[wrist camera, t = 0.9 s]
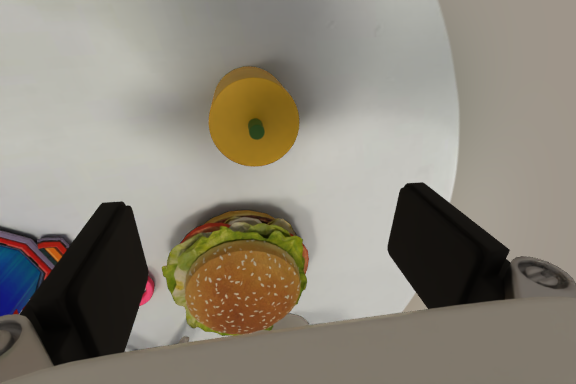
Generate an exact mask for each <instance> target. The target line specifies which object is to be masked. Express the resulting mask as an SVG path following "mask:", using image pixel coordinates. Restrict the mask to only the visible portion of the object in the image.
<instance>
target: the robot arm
mask: <svg viewBox="0 0 576 384" xmlns="http://www.w3.org/2000/svg"><path fill="white" fill-rule="evenodd" d="M388 252H389V255H390V256H391V258H392V259H393V261H394V262H395V263H396V265H397V266H398V268H399V269H400V270H401V272H402V273H403V275H404V276H405V277H406V279H407V280H408V282H409V283H410V284H411V286H412V287H413V289H414V290H415V291H416V293H417V294H418V296H419V297H420V298H421V299H422V301H423V302H424V304H425V305H426V307H427V308H428V309H426V310H417V311H410V312H402V313H395V314H387V315H380V316H372V317H365V318H358V319H350V320H343V321H336V322H328V323H321V324H314V325H307V326H300V327H292V328H285V329H278V330H271V331H264V332H257V333H250V334H243V335H236V336H229V337H222V338H215V339H208V340H201V341H194V342H188V343H181V344H174V345H167V346H161V347H154V348H148V349H141V350H135V351H129V352H124V351H125V348H126V345H127V342H128V339H129V336H130V333H131V330H132V327H133V324H134V321H135V318H136V315H137V312H138V309H139V305H140V302H141V299H142V296H143V293H144V290H145V287H146V284H147V281H148V267H147V264H146V260H145V256H144V252H143V248H142V245H141V241H140V237H139V233H138V230H137V226H136V222H135V218H134V214H133V211H132V208H131V206H126V205H125V204H124V202H107V203H102V204H101V205H100V206H99V207H98V209H97V210H96V211H95V213H94V214H93V215H92V217H91V218H90V219H89V221H88V222H87V223H86V225H85V226H84V228H83V229H82V230H81V232H80V233H79V234H78V236H77V237H76V238H75V240H74V241H73V242H72V244H71V245H70V246H69V248H68V249H67V250H66V252H65V253H64V254H63V256H62V257H61V259H60V260H59V261H58V263H57V264H56V265H55V267H54V268H53V269H52V271H51V272H50V273H49V275H48V276H47V277H46V279H45V280H44V281H43V283H42V284H41V285H40V287H39V288H38V290H37V291H36V292H35V294H34V295H33V296H32V298H31V299H30V300H29V302H28V304H27V305H26V306H25V308H24V309H23V310H22V312H21V313H20V314H19V315H18V314H13V315H4V316H0V384H576V283H575V281H574V280H573V278H572V277H571V276H570V275H569V274H567V273H566V272H565V271H563V270H562V269H560V268H559V267H557V266H555V265H553V264H551V263H549V262H546V261H543V260H541V259H538V258H533V257H523V256H521V257H516V258H515V259H513V260H512V261H511V263H510V262H509V261H508V260H507V259H506V257H507V255H508V253H509V249H508V248H507V247H505V246H504V245H503V244H502V243H500V242H499V241H498V240H496V239H495V238H494V237H493V236H491V235H490V234H489V233H487V232H486V231H485V230H484V229H482V228H481V227H480V226H478V225H477V224H476V223H475V222H473V221H472V220H471V219H469V218H468V217H467V216H466V215H464V214H463V213H462V212H460V211H459V210H458V209H457V208H455V207H454V206H453V205H451V204H450V203H449V202H448V201H446V200H445V199H444V198H443V197H441V196H440V195H439V194H437V193H436V192H435V191H434V190H432V189H431V188H430V187H428V186H427V185H426V184H424V183H407V184H406V185H405V186H404V188H401V190H400V192H399V197H398V201H397V206H396V210H395V215H394V219H393V224H392V228H391V233H390V237H389V242H388Z"/></svg>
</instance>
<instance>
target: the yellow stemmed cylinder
mask: <svg viewBox="0 0 576 384" xmlns="http://www.w3.org/2000/svg"><path fill="white" fill-rule="evenodd" d="M209 130H210V134H211V137H212V139H213V142H214V144H215V145H216V147H217V148H218V149H219V150H220V152H221V153H222V154H223V155H225V156H226V157H227V158H229V159H230V160H232V161H234V162H236V163H238V164H241V165H245V166H263V165H267V164H270V163H273V162H275V161H277V160H278V159H280V158H281V157H283V156H284V155H285V154H286V153H287V152H288V151H289V150H290V148H291V147H292V146H293V144H294V142H295V140H296V137H297V135H298V131H299V114H298V110H297V106H296V104H295V102H294V100H293V99H292V97H291V96H290V94H289V93H288V92H287V91H286V90H285V88H284V87H283V86H282V85H281V84H280V83H279V81H278V80H277V79H276V78H275V77H274V76H273V75H272V74H270V73H269V72H267V71H265V70H263V69H260V68H257V67H241V68H237V69H234V70H232V71H231V72H229V73H228V74H226V75H225V76H224V77H223V78H222V79H221V80H220V82H219V83H218V85H217V87H216V89H215V92H214V96H213V100H212V105H211V109H210V113H209Z"/></svg>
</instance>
